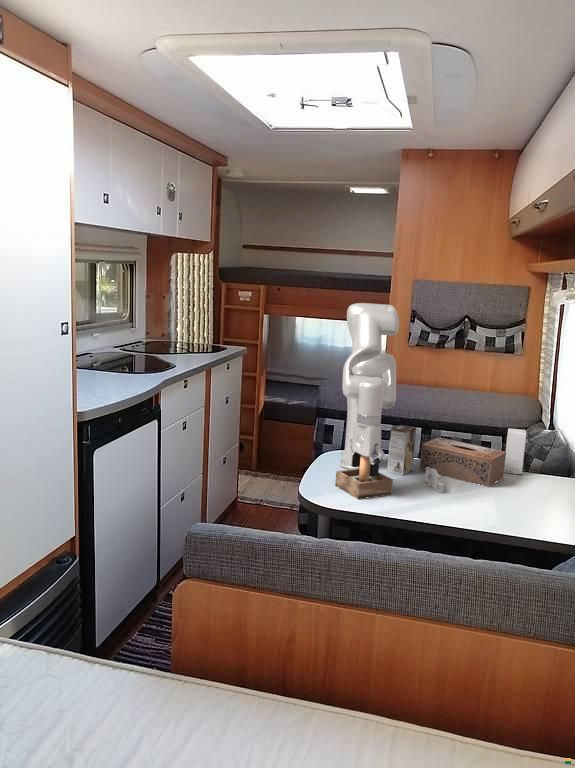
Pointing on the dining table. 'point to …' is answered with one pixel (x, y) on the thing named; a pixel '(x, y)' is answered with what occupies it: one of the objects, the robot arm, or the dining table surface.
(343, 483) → the box
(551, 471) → the dining table surface
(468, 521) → the dining table surface
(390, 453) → the coffee box
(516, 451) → the skincare box
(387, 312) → the robot arm
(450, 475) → the tissue box cover
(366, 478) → the peg
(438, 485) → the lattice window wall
